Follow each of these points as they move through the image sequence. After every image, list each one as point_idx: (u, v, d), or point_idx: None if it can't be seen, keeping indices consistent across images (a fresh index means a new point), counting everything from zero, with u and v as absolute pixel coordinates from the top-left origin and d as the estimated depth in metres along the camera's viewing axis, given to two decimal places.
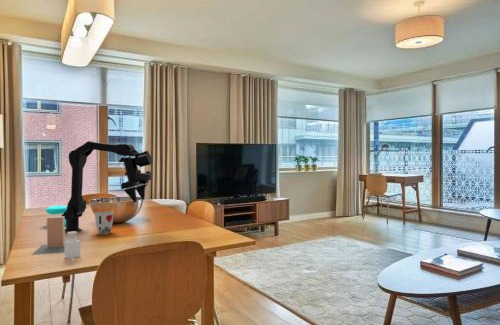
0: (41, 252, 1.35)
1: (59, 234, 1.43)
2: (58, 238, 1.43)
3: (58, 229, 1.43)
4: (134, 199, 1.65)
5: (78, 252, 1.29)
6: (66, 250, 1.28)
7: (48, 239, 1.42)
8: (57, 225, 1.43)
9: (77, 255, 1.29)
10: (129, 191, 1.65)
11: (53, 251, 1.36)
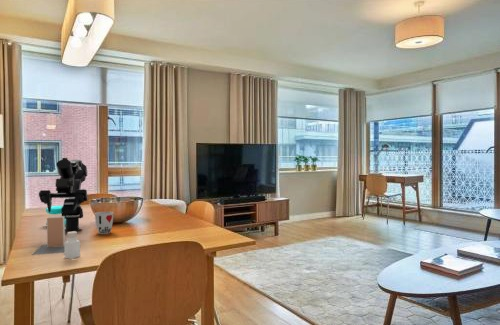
0: (41, 252, 1.35)
1: (59, 234, 1.43)
2: (58, 238, 1.43)
3: (58, 229, 1.43)
4: (48, 209, 1.50)
5: (78, 252, 1.29)
6: (66, 250, 1.28)
7: (48, 239, 1.42)
8: (57, 225, 1.43)
9: (77, 255, 1.29)
10: None
11: (53, 251, 1.36)
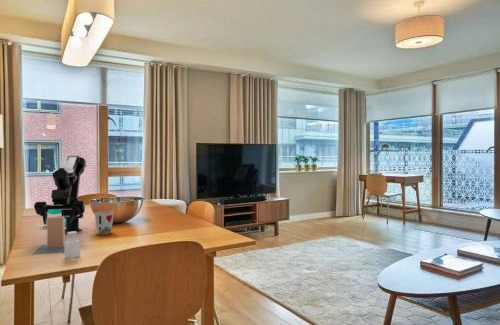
0: (41, 252, 1.35)
1: (59, 234, 1.43)
2: (58, 238, 1.43)
3: (58, 229, 1.43)
4: None
5: (78, 252, 1.29)
6: (66, 250, 1.28)
7: (48, 239, 1.42)
8: (57, 225, 1.43)
9: (77, 255, 1.29)
10: None
11: (53, 251, 1.36)
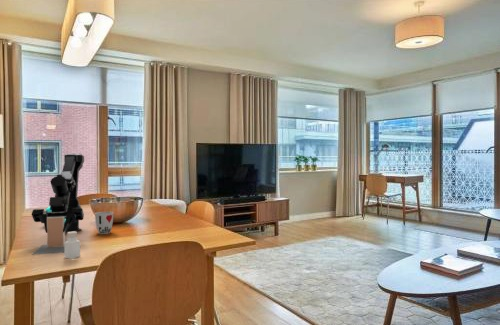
0: (41, 252, 1.35)
1: (59, 234, 1.43)
2: (58, 238, 1.43)
3: (58, 229, 1.43)
4: (45, 230, 1.42)
5: (78, 252, 1.29)
6: (66, 250, 1.28)
7: (48, 239, 1.42)
8: (57, 225, 1.43)
9: (77, 255, 1.29)
10: None
11: (53, 251, 1.36)
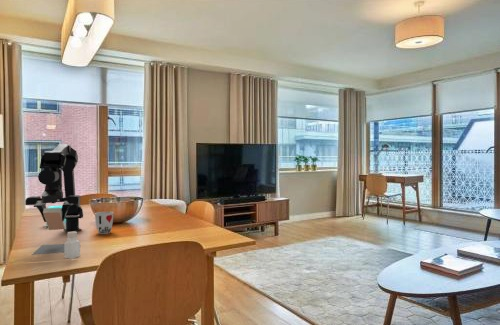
0: (41, 252, 1.35)
1: (59, 222, 1.42)
2: (58, 225, 1.43)
3: (57, 219, 1.40)
4: None
5: (78, 252, 1.29)
6: (66, 250, 1.28)
7: (48, 225, 1.42)
8: (55, 217, 1.39)
9: (77, 255, 1.29)
10: None
11: (53, 251, 1.36)
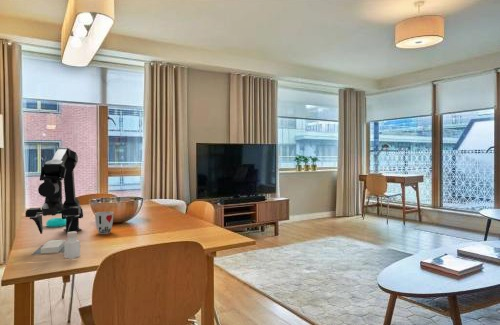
0: None
1: None
2: None
3: None
4: None
5: (78, 252, 1.29)
6: (66, 250, 1.28)
7: None
8: None
9: (77, 255, 1.29)
10: None
11: None
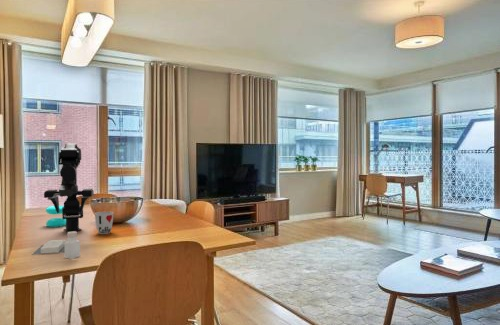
0: None
1: None
2: None
3: None
4: None
5: (78, 252, 1.29)
6: (66, 250, 1.28)
7: None
8: None
9: (77, 255, 1.29)
10: None
11: None
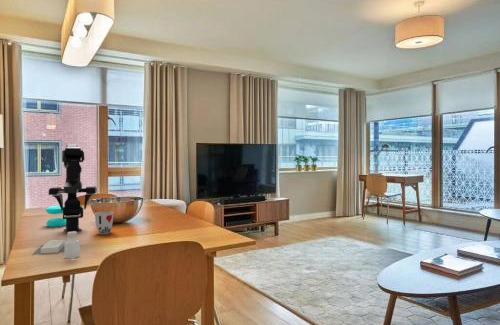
0: None
1: None
2: None
3: None
4: None
5: (78, 252, 1.29)
6: (66, 250, 1.28)
7: None
8: None
9: (77, 255, 1.29)
10: None
11: None
